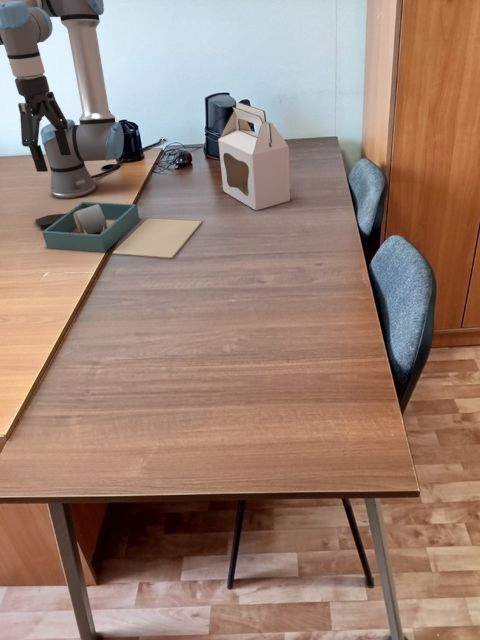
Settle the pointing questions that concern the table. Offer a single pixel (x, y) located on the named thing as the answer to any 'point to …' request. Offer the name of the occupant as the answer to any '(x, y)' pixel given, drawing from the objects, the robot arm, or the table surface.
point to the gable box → (254, 160)
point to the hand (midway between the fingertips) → (54, 162)
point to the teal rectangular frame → (62, 239)
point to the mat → (158, 238)
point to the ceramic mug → (90, 220)
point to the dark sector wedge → (48, 220)
